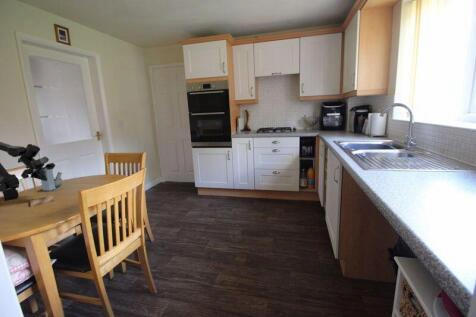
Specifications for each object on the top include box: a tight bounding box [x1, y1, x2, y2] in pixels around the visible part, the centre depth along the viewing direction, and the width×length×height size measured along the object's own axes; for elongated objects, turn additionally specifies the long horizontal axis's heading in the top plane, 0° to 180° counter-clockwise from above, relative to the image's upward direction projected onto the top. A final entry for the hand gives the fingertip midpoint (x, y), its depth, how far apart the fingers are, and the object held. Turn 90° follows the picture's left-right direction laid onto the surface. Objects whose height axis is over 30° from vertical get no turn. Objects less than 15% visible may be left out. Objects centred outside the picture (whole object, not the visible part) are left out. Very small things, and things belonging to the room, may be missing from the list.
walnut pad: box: [29, 195, 55, 207], centre depth 144 cm, size 11×10×1 cm
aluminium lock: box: [39, 169, 56, 191], centre depth 145 cm, size 4×5×13 cm
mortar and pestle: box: [50, 171, 63, 192], centre depth 167 cm, size 11×9×12 cm
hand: (49, 179), depth 145 cm, fingers closed on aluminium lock, 4 cm apart
